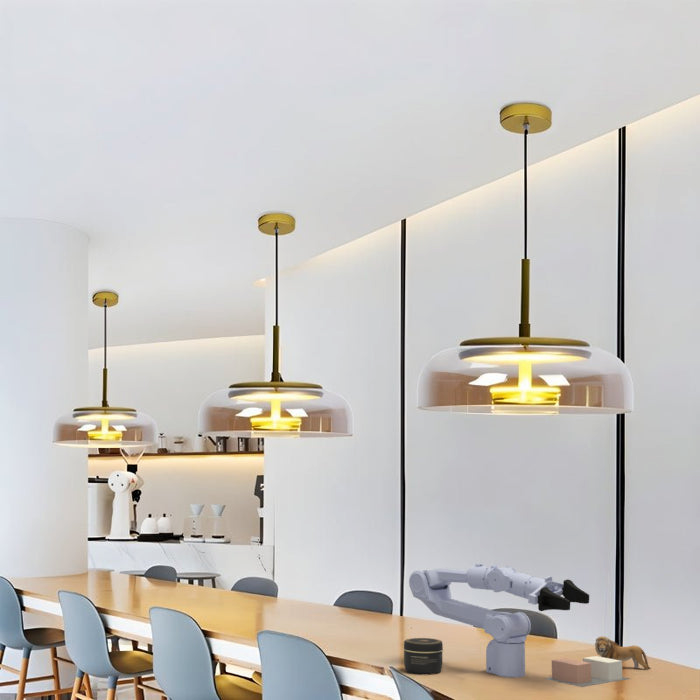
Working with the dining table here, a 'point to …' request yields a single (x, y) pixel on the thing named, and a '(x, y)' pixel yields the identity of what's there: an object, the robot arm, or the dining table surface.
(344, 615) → the dining table surface
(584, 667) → the terracotta brick
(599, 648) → the lion figurine
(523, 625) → the robot arm
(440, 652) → the jar
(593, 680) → the baseplate
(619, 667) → the cream brick
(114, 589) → the dining table surface
